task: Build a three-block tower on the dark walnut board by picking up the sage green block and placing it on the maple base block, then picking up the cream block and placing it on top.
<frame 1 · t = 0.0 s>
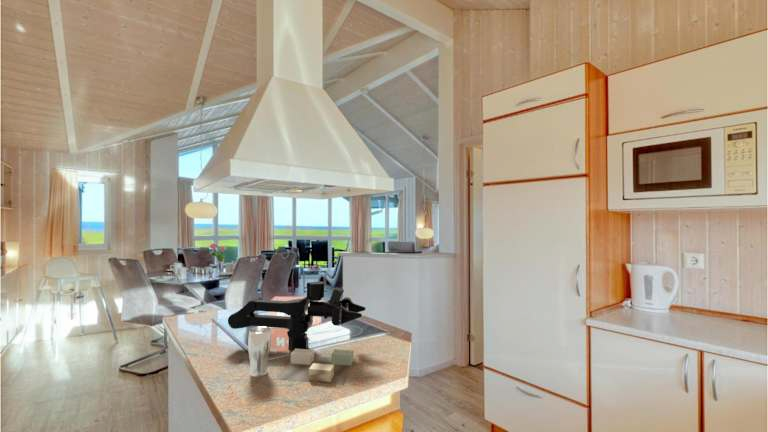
hand: (363, 311, 135), 17 cm above the counter, tool horizontal, fingers open, 9 cm apart
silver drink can: (258, 376, 116), on the counter
cream block: (302, 361, 125), point 1 cm above the counter, touching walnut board
sage green block: (342, 362, 126), point 1 cm above the counter, touching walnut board
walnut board: (317, 371, 120), on the counter
maple base block: (321, 377, 113), point 1 cm above the counter, touching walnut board
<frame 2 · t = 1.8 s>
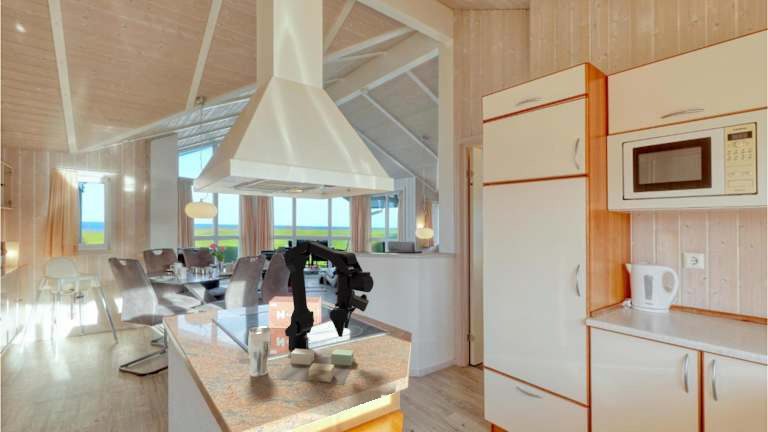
hand: (343, 332, 126), 12 cm above the counter, tool pointing down, fingers open, 9 cm apart
nothing on the counter moved.
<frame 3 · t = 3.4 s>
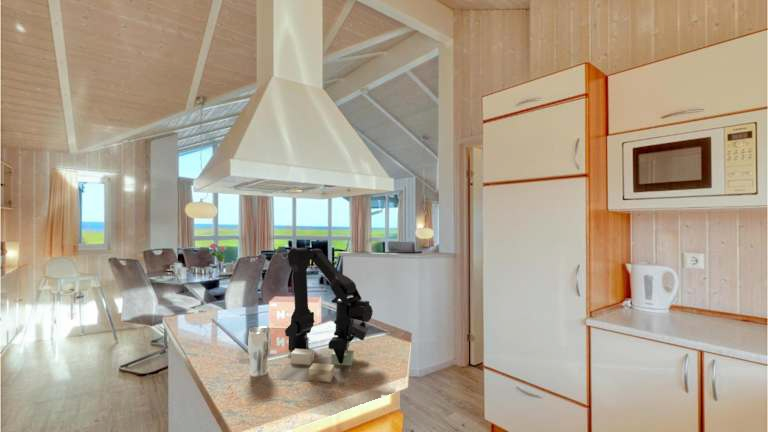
hand: (342, 360, 126), 2 cm above the counter, tool pointing down, fingers closed on sage green block, 4 cm apart
sage green block: (342, 362, 126), point 1 cm above the counter, touching gripper, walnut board
everything else where it was.
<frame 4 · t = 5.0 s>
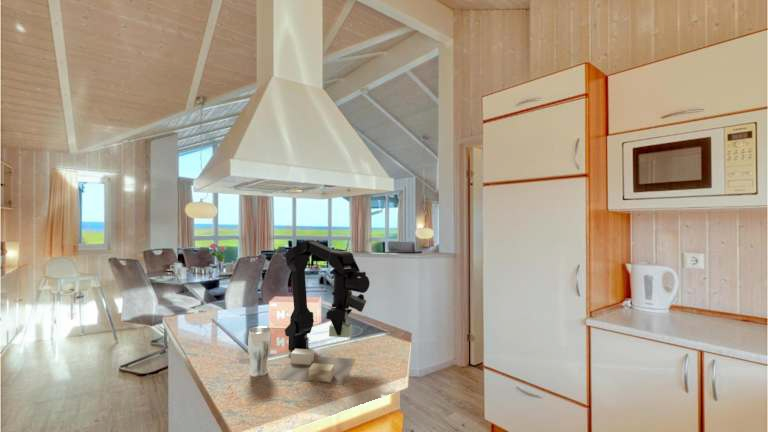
hand: (340, 333, 124), 12 cm above the counter, tool pointing down, fingers closed on sage green block, 4 cm apart
sage green block: (340, 334, 124), point 11 cm above the counter, touching gripper
everything else where it was.
when the fingers open (6 cm above the counter, at t = 7.1 s): sage green block moves 1 cm, resting on maple base block.
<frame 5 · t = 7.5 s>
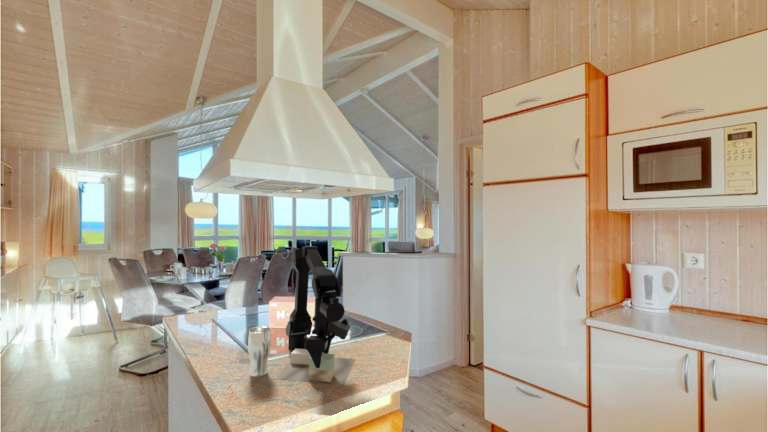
hand: (321, 361, 113), 6 cm above the counter, tool pointing down, fingers open, 9 cm apart
sage green block: (321, 367, 113), point 4 cm above the counter, touching maple base block
maple base block: (321, 377, 113), point 1 cm above the counter, touching sage green block, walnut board
everything else where it was.
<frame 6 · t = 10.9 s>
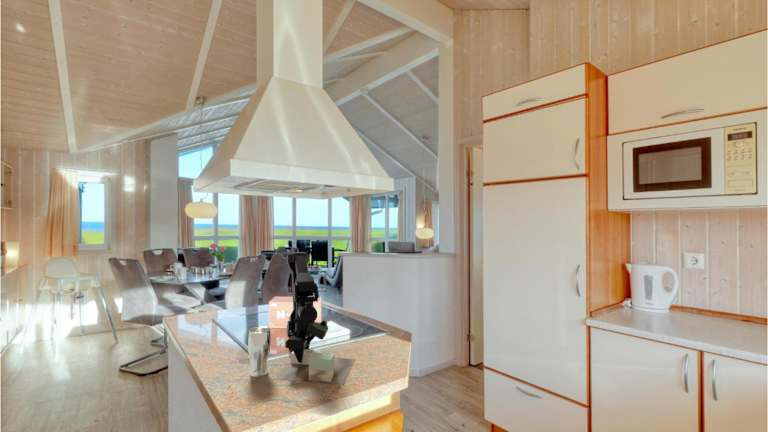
hand: (302, 359, 125), 2 cm above the counter, tool pointing down, fingers closed on cream block, 4 cm apart
cream block: (302, 361, 125), point 1 cm above the counter, touching gripper, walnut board
everything else where it was.
when the fingers open (10 cm above the counter, at t = 14.4 s): cream block drops 1 cm, resting on sage green block.
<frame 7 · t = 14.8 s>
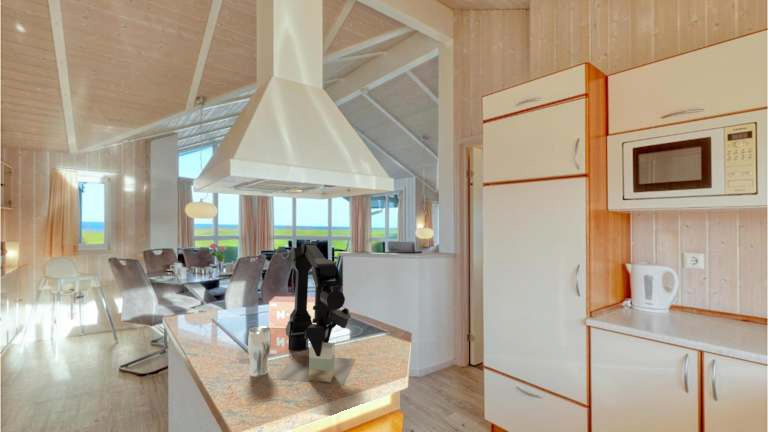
hand: (322, 350, 113), 10 cm above the counter, tool pointing down, fingers open, 8 cm apart
cream block: (322, 355, 113), point 8 cm above the counter, touching sage green block
sage green block: (321, 367, 113), point 4 cm above the counter, touching cream block, maple base block
everything else where it was.
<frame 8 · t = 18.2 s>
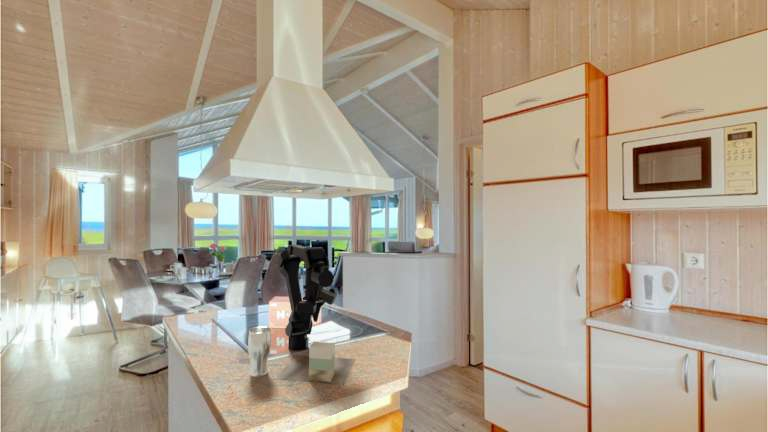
hand: (311, 325, 128), 13 cm above the counter, tool pointing down, fingers open, 9 cm apart
nothing on the counter moved.
at the end: sage green block 0.2 cm off-centre on the maple base block, point 3.5 cm above the maple base block's base; cream block 0.0 cm off-centre on the maple base block, point 7.0 cm above the maple base block's base; cream block tilted 0° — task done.
